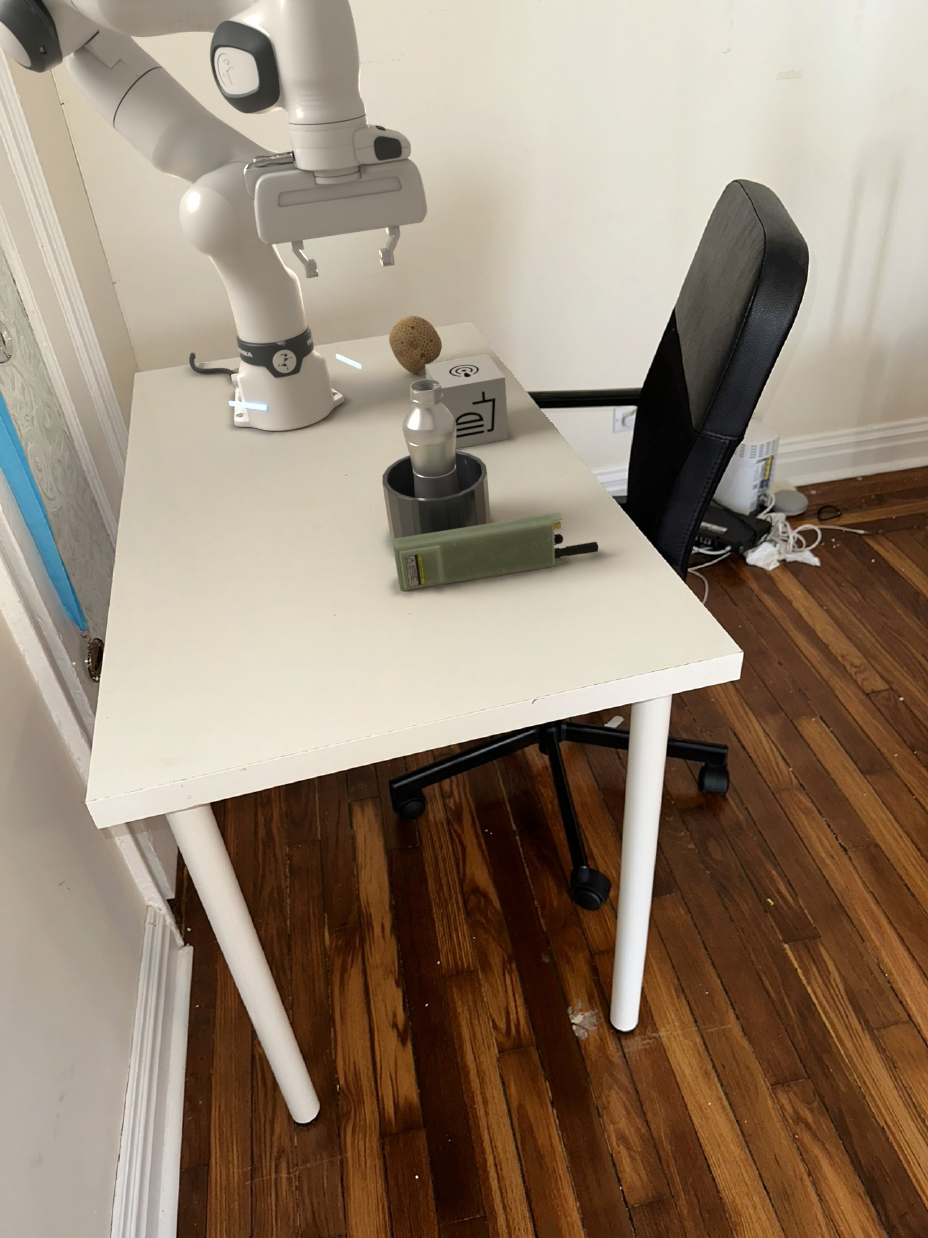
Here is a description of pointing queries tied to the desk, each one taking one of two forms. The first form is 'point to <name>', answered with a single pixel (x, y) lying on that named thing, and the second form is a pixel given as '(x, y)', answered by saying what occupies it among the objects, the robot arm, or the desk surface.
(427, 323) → the natural sponge
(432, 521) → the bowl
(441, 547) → the handheld radio
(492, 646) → the desk surface
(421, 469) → the metal bottle
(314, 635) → the desk surface
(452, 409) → the icon cube
